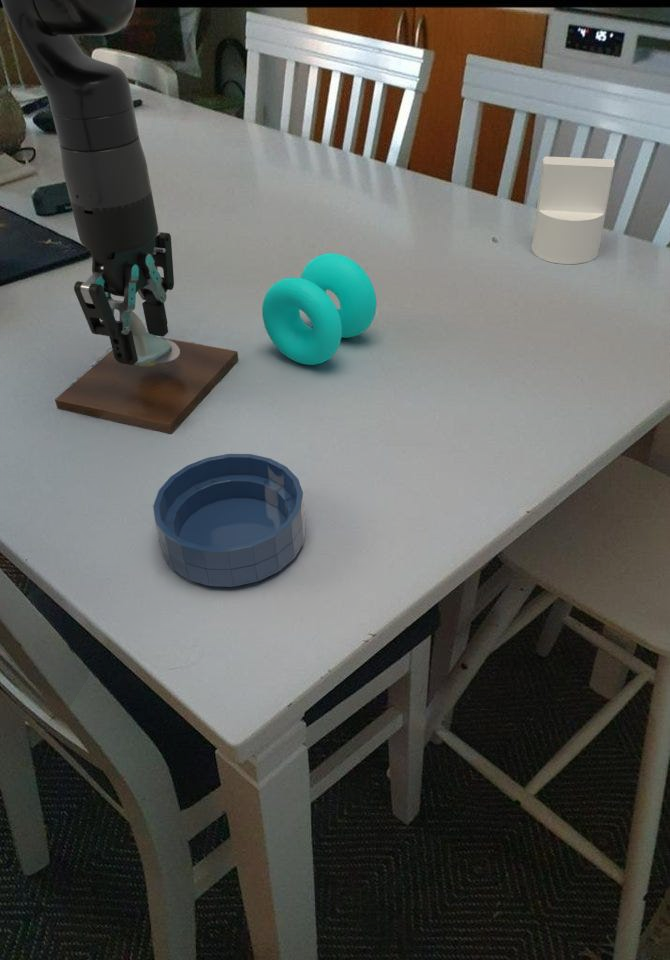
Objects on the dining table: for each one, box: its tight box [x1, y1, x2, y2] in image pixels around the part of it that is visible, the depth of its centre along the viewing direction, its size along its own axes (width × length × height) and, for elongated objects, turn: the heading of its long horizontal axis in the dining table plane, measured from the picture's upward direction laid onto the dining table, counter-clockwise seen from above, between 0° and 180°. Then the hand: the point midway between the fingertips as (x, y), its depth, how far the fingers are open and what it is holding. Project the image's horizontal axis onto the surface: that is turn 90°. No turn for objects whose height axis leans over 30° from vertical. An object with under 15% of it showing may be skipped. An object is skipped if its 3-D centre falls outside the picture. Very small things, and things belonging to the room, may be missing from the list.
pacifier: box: [130, 311, 180, 367], centre depth 86 cm, size 7×6×6 cm
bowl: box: [152, 453, 307, 588], centre depth 68 cm, size 12×12×4 cm
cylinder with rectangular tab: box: [531, 156, 616, 265], centre depth 108 cm, size 9×9×12 cm
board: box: [54, 337, 239, 435], centre depth 89 cm, size 15×14×1 cm
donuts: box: [261, 252, 377, 366], centre depth 91 cm, size 10×10×10 cm
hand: (143, 347), depth 86 cm, fingers closed on pacifier, 5 cm apart
